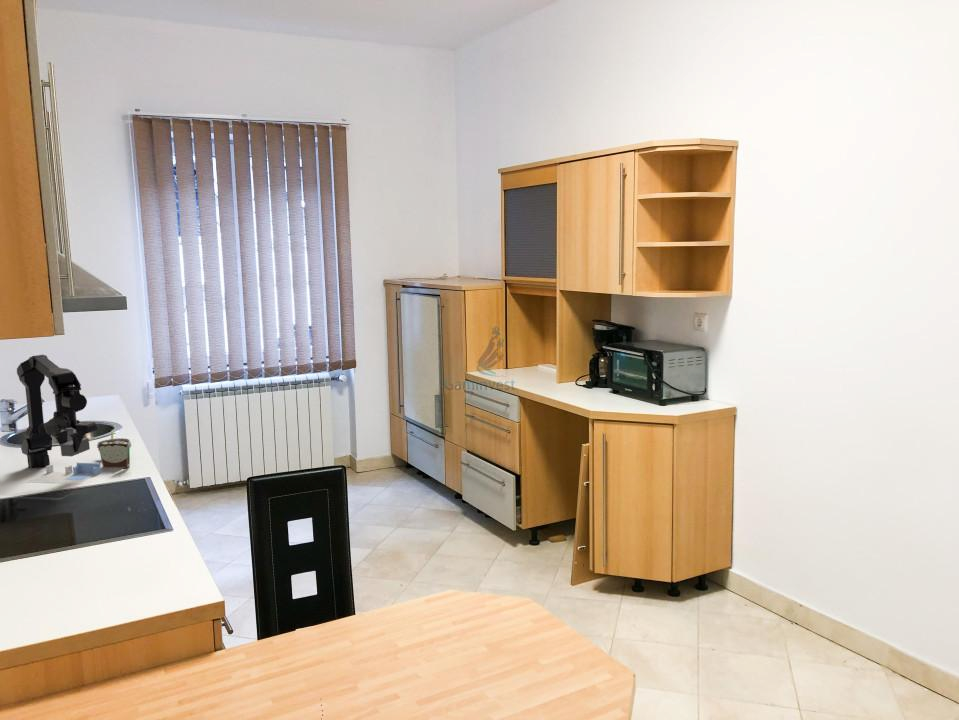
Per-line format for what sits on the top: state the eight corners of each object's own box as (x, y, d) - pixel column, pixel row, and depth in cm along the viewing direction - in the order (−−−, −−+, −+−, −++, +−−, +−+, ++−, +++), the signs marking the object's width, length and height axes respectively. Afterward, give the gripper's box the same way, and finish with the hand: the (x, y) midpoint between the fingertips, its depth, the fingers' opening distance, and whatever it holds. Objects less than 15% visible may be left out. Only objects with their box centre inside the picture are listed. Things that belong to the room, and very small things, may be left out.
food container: (140, 464, 287) (137, 437, 285) (131, 469, 281) (128, 442, 279) (109, 464, 288) (106, 438, 286) (99, 468, 282) (96, 442, 280)
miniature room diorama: (25, 484, 266) (24, 472, 265) (52, 473, 278) (50, 461, 277) (76, 486, 262) (75, 473, 261) (101, 474, 274) (100, 463, 274)
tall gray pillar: (61, 456, 264) (60, 444, 264) (79, 448, 273) (78, 437, 272) (71, 456, 263) (70, 445, 263) (89, 449, 272) (88, 438, 271)
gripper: (23, 412, 257) (29, 457, 260) (73, 413, 254) (78, 459, 256) (48, 405, 268) (53, 448, 270) (95, 405, 264) (100, 450, 267)
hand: (70, 451), depth 266 cm, fingers closed on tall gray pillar, 4 cm apart
